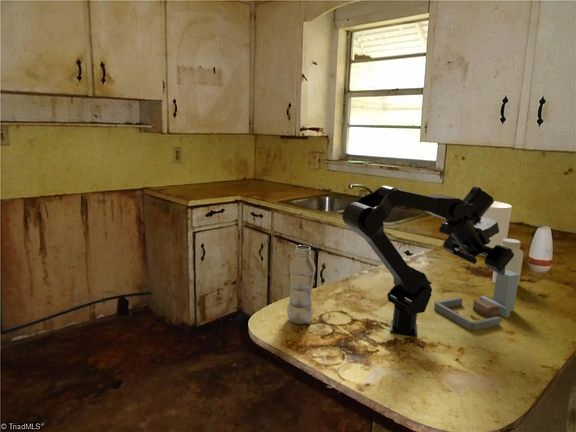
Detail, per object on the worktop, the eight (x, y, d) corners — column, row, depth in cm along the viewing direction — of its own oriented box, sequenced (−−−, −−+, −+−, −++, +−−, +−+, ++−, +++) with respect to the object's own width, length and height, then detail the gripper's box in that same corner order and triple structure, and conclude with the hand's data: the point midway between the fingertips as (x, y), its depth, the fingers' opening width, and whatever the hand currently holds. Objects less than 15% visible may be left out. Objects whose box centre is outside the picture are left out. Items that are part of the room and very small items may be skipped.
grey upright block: (505, 317, 116) (511, 280, 114) (479, 304, 124) (484, 269, 122) (521, 314, 119) (527, 277, 116) (494, 301, 127) (499, 266, 124)
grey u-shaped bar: (471, 331, 108) (472, 324, 108) (432, 308, 120) (433, 302, 120) (499, 324, 112) (500, 318, 112) (459, 303, 124) (460, 297, 124)
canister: (492, 245, 187) (499, 200, 182) (512, 257, 171) (520, 208, 167) (456, 244, 186) (462, 199, 182) (473, 255, 170) (480, 207, 166)
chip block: (485, 317, 116) (487, 307, 116) (472, 310, 121) (473, 300, 120) (497, 316, 118) (498, 306, 117) (483, 308, 122) (485, 298, 122)
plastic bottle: (297, 313, 114) (300, 241, 110) (317, 321, 110) (321, 247, 106) (281, 321, 109) (284, 247, 105) (302, 330, 105) (306, 253, 101)
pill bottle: (496, 277, 147) (503, 235, 144) (521, 284, 142) (529, 241, 138) (487, 283, 142) (494, 239, 138) (513, 290, 136) (521, 245, 133)
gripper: (515, 217, 102) (538, 256, 109) (456, 202, 118) (479, 237, 125) (486, 251, 100) (512, 289, 107) (430, 231, 117) (456, 265, 124)
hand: (488, 268), depth 116 cm, fingers open, 9 cm apart
